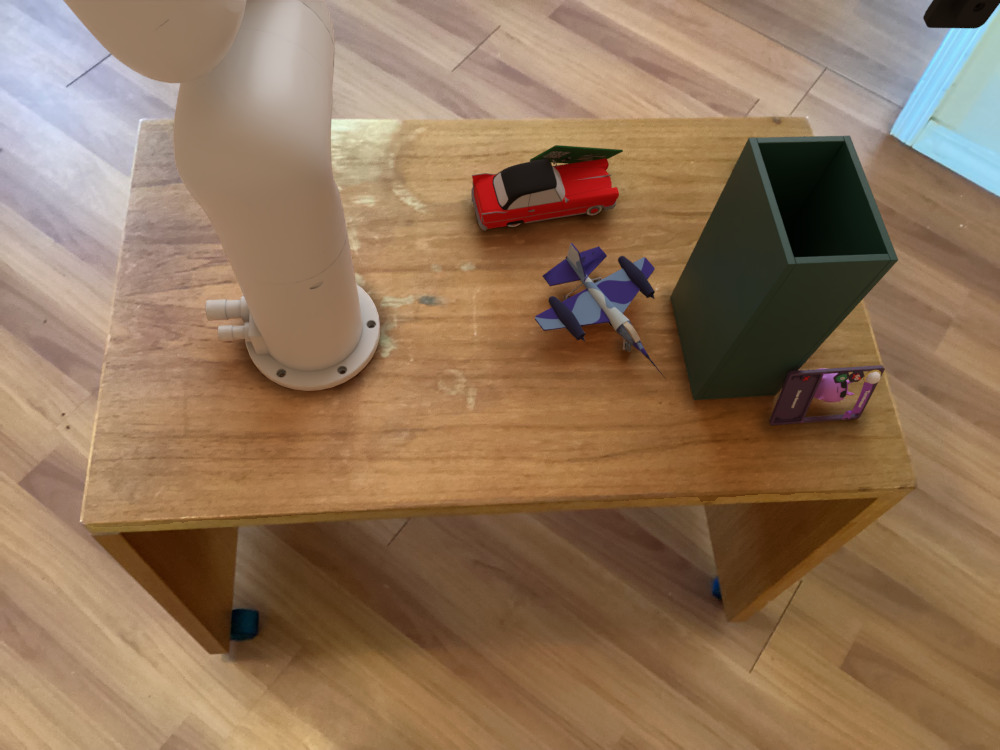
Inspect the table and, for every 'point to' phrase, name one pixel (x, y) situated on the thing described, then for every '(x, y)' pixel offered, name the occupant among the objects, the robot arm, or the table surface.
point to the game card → (823, 393)
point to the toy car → (542, 192)
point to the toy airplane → (597, 295)
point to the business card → (575, 154)
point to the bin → (778, 264)
